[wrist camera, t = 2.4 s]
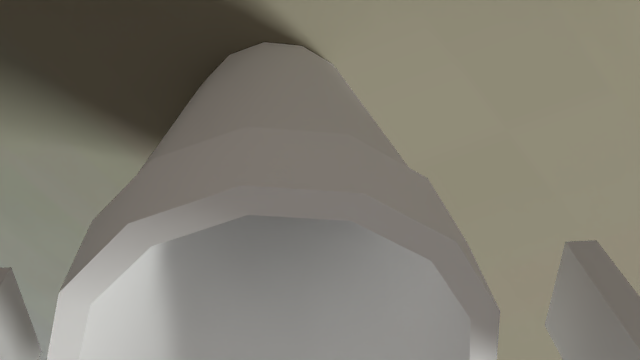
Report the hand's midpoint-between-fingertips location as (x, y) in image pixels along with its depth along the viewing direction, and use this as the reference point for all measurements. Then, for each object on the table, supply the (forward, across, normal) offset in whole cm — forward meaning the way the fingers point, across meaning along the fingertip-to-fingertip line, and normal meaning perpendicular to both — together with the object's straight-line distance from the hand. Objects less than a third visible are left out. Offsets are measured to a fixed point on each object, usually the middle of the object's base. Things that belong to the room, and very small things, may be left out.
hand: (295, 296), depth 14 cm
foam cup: (+11, -1, 0) cm, 11 cm away
